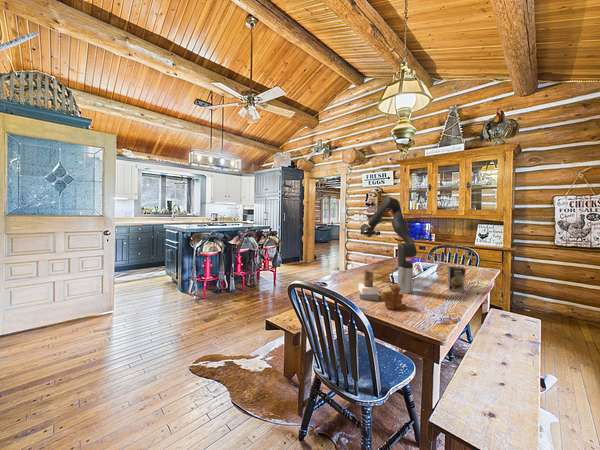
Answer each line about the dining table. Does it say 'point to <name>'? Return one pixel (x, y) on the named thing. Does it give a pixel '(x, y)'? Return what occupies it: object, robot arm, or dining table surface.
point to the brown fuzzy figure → (393, 298)
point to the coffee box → (456, 279)
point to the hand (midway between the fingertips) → (371, 234)
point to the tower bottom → (367, 296)
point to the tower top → (368, 289)
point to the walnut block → (368, 278)
